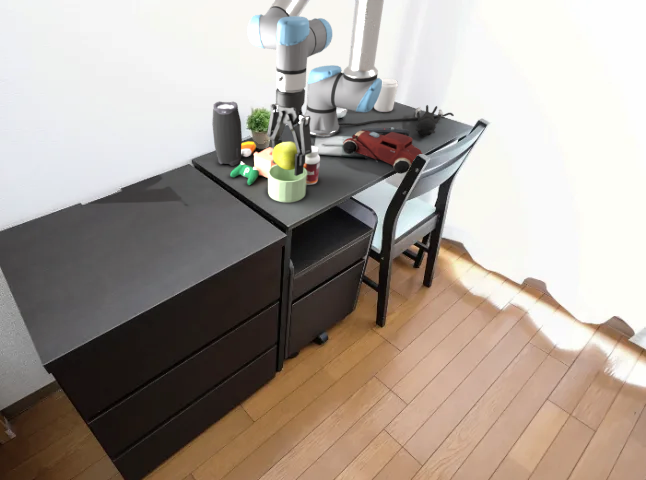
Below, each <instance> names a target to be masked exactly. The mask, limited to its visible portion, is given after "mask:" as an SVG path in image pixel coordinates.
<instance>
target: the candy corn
mask: <svg viewBox="0 0 646 480" xmlns="http://www.w3.org/2000/svg"><path fill="white" fill-rule="evenodd" d="M256 147H257V145H256V143H255V142H254V141H249V140H248V141H245V142H242V147H241V156H242V157H243V158H247V157H249V156H251V155H252V154H253V153H254V151H256Z"/></svg>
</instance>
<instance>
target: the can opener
mask: <svg viewBox="0 0 646 480" xmlns="http://www.w3.org/2000/svg"><path fill="white" fill-rule="evenodd" d="M362 130H364V131H369V132H371V133H372V132H375V133H378V134H379V135H384V136H385V135H387V134H388V133H390V132H394V133H399V134H403V135H406V136H409V135H410V131H409V129H406V128H401V127H397V128H395V127H393V126H392V127H370V128H369V127H367V128H361V130H360V131H362ZM409 137H410V136H409Z"/></svg>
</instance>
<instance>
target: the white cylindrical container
mask: <svg viewBox="0 0 646 480" xmlns="http://www.w3.org/2000/svg"><path fill="white" fill-rule="evenodd" d="M380 79H381V80H382V88H381V91H380V94H379V97H378V99H377V101H376V103H375V105H374V107H373V108H374V110H375V111H377V112H379V113H389V112H392V111H393V110H394V106H395V101H396V97H397V93H398V87H399V84H398V80H396V79H394V78H380Z"/></svg>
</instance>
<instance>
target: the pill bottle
mask: <svg viewBox="0 0 646 480" xmlns="http://www.w3.org/2000/svg"><path fill="white" fill-rule="evenodd" d="M311 148H312V152H311V153H310V154H307V155H306V156H305V164H304V168H305V169H306V170H307V183H306V186H311V185H312V186H313V185H316V184H317V183H318V180H319V173H320V163H321V157H320V155H319V147H318V146H316V145H311Z"/></svg>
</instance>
